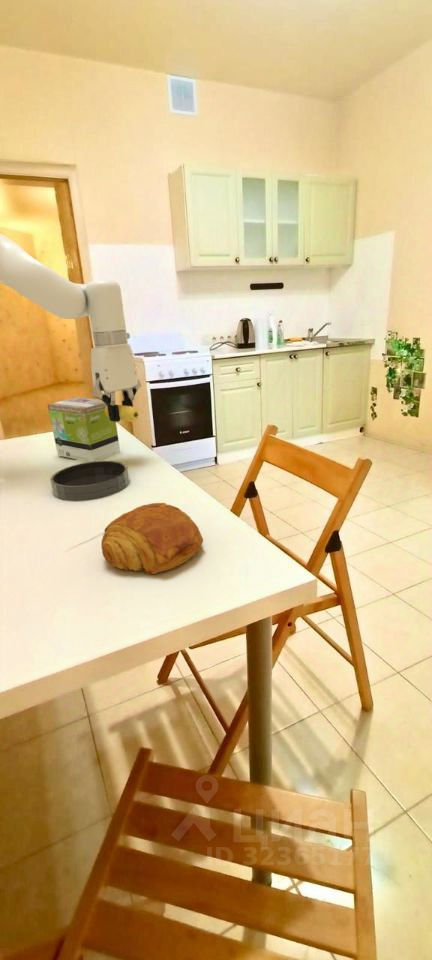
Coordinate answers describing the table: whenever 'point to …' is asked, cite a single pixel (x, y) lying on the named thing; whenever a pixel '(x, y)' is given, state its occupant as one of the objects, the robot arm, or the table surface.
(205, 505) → the table surface
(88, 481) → the shallow dish
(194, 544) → the croissant
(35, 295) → the robot arm
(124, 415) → the banana
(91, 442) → the tea box
